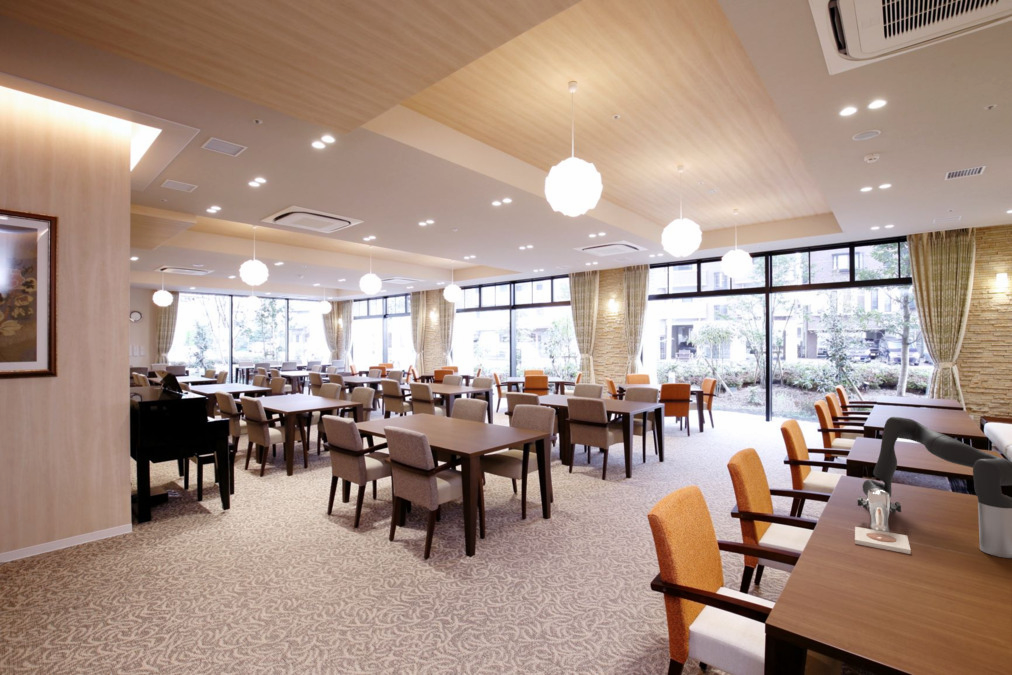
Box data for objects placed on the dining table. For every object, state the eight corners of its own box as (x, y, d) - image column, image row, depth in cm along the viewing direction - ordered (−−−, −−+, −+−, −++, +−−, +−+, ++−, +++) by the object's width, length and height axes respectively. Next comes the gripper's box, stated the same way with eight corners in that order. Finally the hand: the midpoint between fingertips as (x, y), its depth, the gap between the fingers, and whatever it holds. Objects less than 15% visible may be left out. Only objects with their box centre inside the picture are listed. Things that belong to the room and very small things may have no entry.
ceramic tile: (907, 539, 181) (906, 535, 181) (910, 554, 168) (910, 549, 168) (855, 530, 191) (855, 526, 191) (855, 543, 178) (854, 539, 178)
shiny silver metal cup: (883, 526, 194) (881, 489, 195) (895, 532, 188) (894, 494, 188) (865, 526, 195) (863, 489, 196) (876, 532, 188) (875, 494, 189)
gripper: (857, 487, 210) (857, 496, 197) (899, 492, 201) (901, 502, 188) (857, 504, 209) (857, 514, 196) (899, 510, 201) (902, 521, 188)
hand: (879, 508), depth 192 cm, fingers open, 8 cm apart
